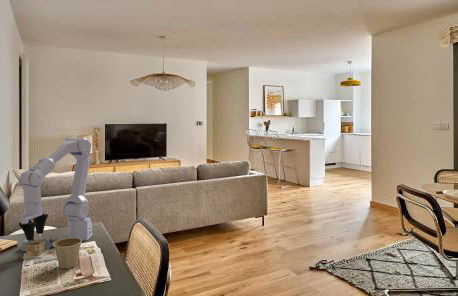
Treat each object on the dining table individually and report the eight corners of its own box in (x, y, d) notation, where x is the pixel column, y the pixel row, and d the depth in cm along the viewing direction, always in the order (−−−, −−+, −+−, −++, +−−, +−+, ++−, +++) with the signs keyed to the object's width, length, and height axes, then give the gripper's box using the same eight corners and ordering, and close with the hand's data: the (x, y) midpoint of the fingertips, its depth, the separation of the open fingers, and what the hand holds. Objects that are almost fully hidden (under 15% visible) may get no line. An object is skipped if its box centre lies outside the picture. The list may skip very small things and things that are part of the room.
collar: (45, 250, 138) (45, 241, 138) (39, 255, 133) (39, 245, 133) (32, 251, 138) (31, 241, 137) (26, 256, 133) (25, 246, 132)
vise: (61, 243, 147) (61, 227, 147) (54, 249, 140) (53, 232, 140) (30, 244, 146) (29, 228, 146) (21, 251, 140) (19, 233, 139)
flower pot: (89, 262, 127) (87, 238, 127) (69, 272, 119) (68, 248, 118) (68, 259, 130) (67, 236, 130) (47, 269, 122) (46, 245, 121)
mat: (49, 250, 139) (49, 249, 139) (41, 257, 132) (41, 256, 132) (31, 251, 139) (31, 250, 139) (22, 258, 132) (22, 257, 132)
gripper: (31, 198, 141) (33, 231, 142) (11, 207, 126) (14, 243, 128) (49, 197, 141) (51, 230, 142) (31, 206, 127) (34, 243, 128)
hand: (35, 236), depth 135 cm, fingers open, 7 cm apart
